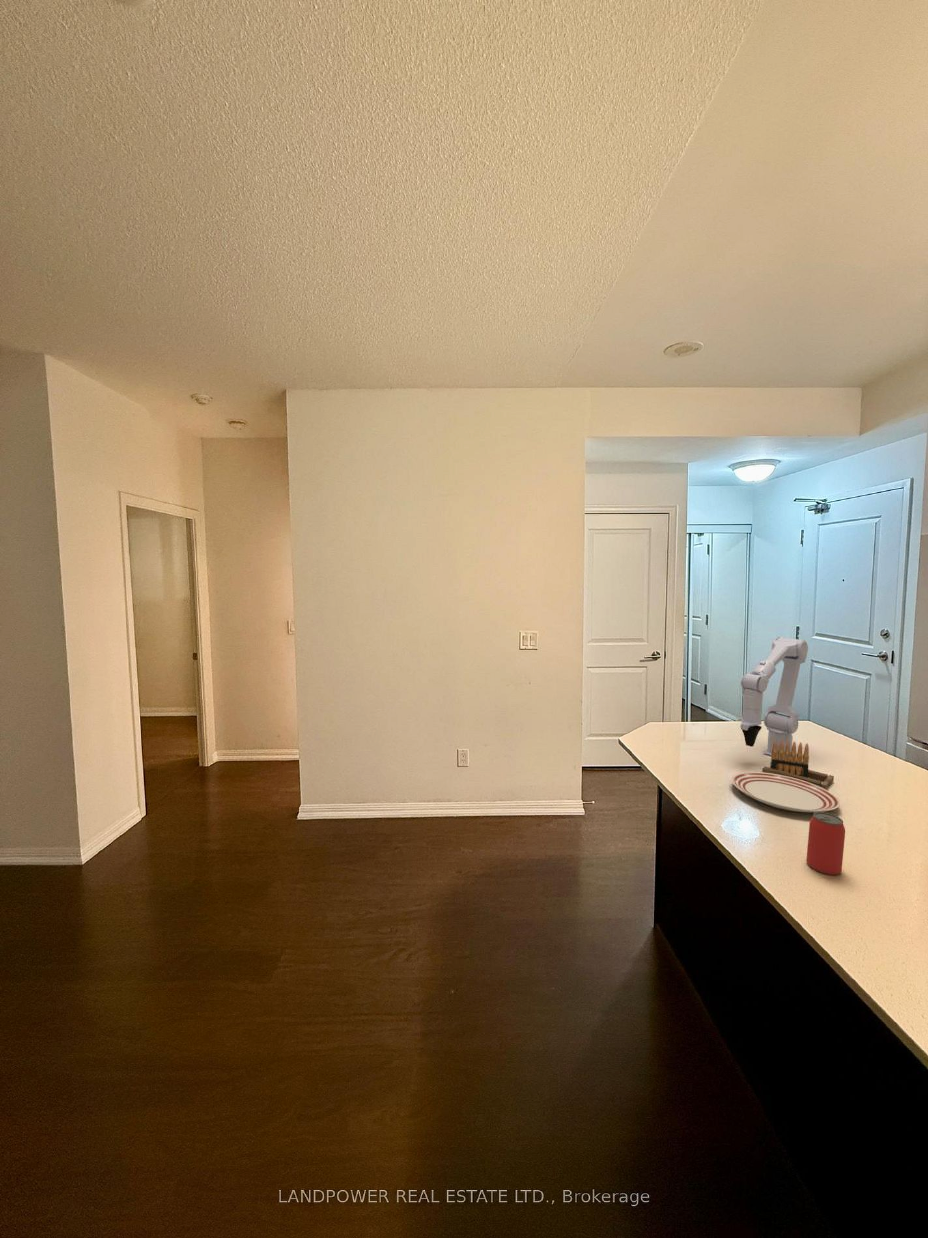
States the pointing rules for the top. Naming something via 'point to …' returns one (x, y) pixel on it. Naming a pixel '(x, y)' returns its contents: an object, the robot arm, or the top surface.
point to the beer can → (826, 843)
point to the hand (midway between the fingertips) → (749, 745)
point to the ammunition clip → (790, 759)
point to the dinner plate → (785, 792)
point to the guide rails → (812, 777)
